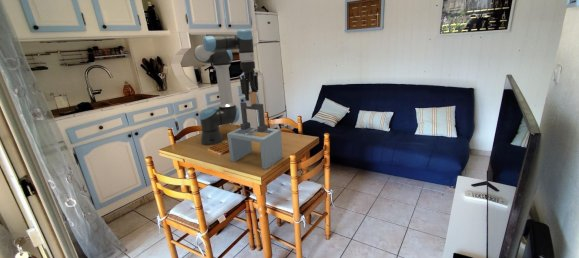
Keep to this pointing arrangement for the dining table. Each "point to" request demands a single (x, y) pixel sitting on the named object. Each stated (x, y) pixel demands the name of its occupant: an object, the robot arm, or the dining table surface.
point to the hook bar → (252, 131)
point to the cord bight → (254, 106)
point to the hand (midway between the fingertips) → (251, 105)
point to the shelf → (268, 145)
